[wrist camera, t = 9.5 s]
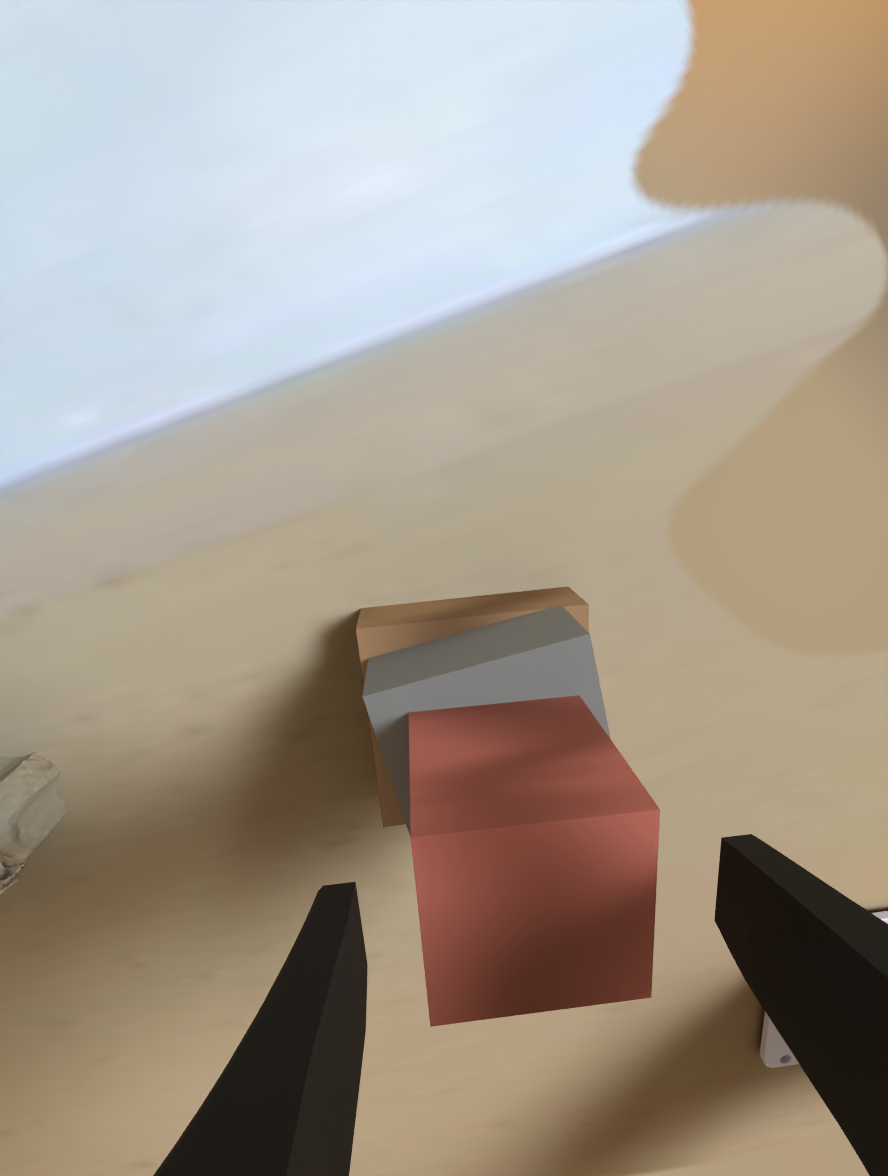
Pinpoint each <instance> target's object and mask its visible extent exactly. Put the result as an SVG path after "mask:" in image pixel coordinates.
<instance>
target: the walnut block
mask: <svg viewBox="0 0 888 1176" xmlns="http://www.w3.org/2000/svg"><path fill="white" fill-rule="evenodd" d="M558 605H562V606H563V607H564V608H565V609H566V610H567V611H568V612H569V613H570V614H571V615H572V616H573V617H574V618H575V619H576V620H577V621H578V622H579V623H580V624H581V625H582V626H583V627H584V628H585V629H586V631H587V632H588V633H589V614H588V603H586V602H585V601H584V600H583V599H582V598H581V597H579V596H578V595H577V594H576V593H575V592H574V591H573V590H571V589H570V588H569V587H560V588H551V589H541V590H532V591H522V592H513V593H503V594H494V595H484V596H475V597H465V598H456V599H446V600H437V601H427V602H418V603H408V604H399V605H389V606H380V607H370V608H361V610H360V614H359V618H358V622H357V626H356V634H357V641H358V648H359V655H360V663H361V670H362V677H363V684H365V677H366V671H367V665H368V659H369V658H371V657H374V656H378V655H381V654H385V653H389V652H392V651H396V650H400V649H403V648H407V647H410V646H414V645H418V644H421V643H425V642H428V641H432V640H436V639H439V638H443V637H446V636H450V635H454V634H457V633H461V632H464V631H468V630H472V629H475V628H479V627H482V626H486V625H490V624H493V623H497V622H501V621H504V620H508V619H511V618H515V617H519V616H522V615H526V614H529V613H533V612H537V611H540V610H544V609H547V608H551V607H555V606H558ZM367 713H368V712H367ZM368 720H369V727H370V734H371V741H372V748H373V756H374V763H375V770H376V777H377V784H378V791H379V799H380V806H381V813H382V820H383V827H387V826H395V825H403V824H406V822H405V819H404V816H403V813H402V810H401V808H400V805H399V802H398V799H397V796H396V793H395V790H394V787H393V784H392V781H391V778H390V776H389V773H388V770H387V767H386V764H385V761H384V758H383V755H382V752H381V749H380V746H379V744H378V741H377V738H376V735H375V732H374V729H373V726H372V723H371V720H370V717H369V714H368Z"/></svg>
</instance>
